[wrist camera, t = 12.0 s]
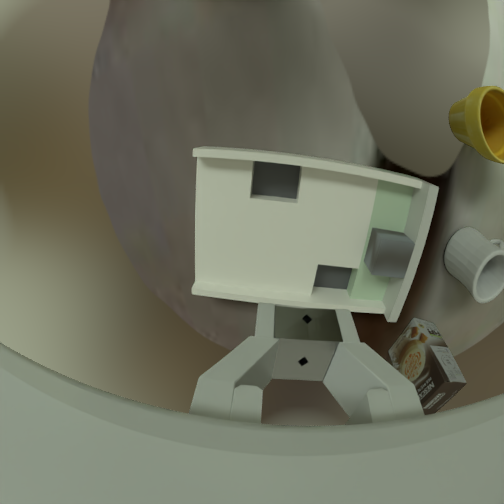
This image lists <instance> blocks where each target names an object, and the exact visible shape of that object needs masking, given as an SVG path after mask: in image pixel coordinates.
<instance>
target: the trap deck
mask: <svg viewBox="0 0 504 504" xmlns="http://www.w3.org/2000/svg"><path fill="white" fill-rule="evenodd" d="M193 157H197V175H196V206H195V283H194V285H193V287H192V294H195V295H202V296H209V297H216V298H223V299H231V300H238V301H246V302H255V303H259V302H263V303H272V304H274V305H275V304H281V305H290V306H300V307H308V308H321V309H348V310H349V311H350V312H363V313H380V314H384V315H385V317H386V320H387V322H396V321H397V319H398V317H399V314H400V312H401V309H402V307H403V305H404V302H405V300H406V297H407V294H408V292H409V289H410V287H411V284H412V281H413V278H414V275H415V273H416V270H417V267H418V264H419V261H420V258H421V255H422V251H423V248H424V245H425V241H426V238H427V234H428V231H429V227H430V223H431V220H432V216H433V212H434V207H435V203H436V199H437V194H438V189H439V187H437V186H435V185H433V184H430V183H428V182H426V181H423V180H421V179H418V178H416V177H413V176H409V175H405V174H401V173H397V172H392V171H388V170H384V169H379V168H375V167H370V166H365V165H360V164H355V163H349V162H344V161H338V160H332V159H326V158H320V157H313V156H306V155H299V154H291V153H283V152H274V151H265V150H254V149H242V148H228V147H210V146H203V147H198V148H193ZM372 227H373V228H379V229H385V230H391V231H397V232H402V233H404V234H405V235H406V236H408V237H409V238H410V239H411V240H412V241H413V242H414V243H415V247H414V250H413V253H412V256H411V259H410V262H409V265H408V268H407V271H406V274H405V277H404V278H396V277H387V276H378V275H371V273H370V271H369V269H368V268H367V266H366V264H365V262H364V258H365V254H366V250H367V247H368V243H369V239H370V235H371V231H372Z"/></svg>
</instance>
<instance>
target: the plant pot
mask: <svg viewBox="0 0 504 504" xmlns="http://www.w3.org/2000/svg"><path fill="white" fill-rule="evenodd" d="M449 124H450V128H451V130H452V132H453V134H454V135H455V137H456V138H457V139H458V140H459V141H461V142H463V143H465V144H467V145H469V146H471V147H473V148H475V149H476V150H477V151H478V153H479V154H480V155H482V156H483V157H484V158H486V159H488V160H491V161H494V162H498V163H502V164H504V90H503V89H501V88H499V87H497V86H485V87H479V88H476V89H474V90H473V91H471V92H470V94H469V95H468V97H466V98H464V99H462V100H460V101H458V102H456V103H454V104H453V105H452V107H451V109H450V111H449Z"/></svg>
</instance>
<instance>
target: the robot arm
mask: <svg viewBox="0 0 504 504" xmlns="http://www.w3.org/2000/svg"><path fill="white" fill-rule="evenodd" d="M271 379H296V380H297V379H298V380H311V381H323V383H324V384H325V386H326V387H327V388H328V390H329V391H330V392H331V394H332V395H333V396H334V398H335V399H336V400H337V402H338V403H339V404H340V405H341V407H342V408H343V409H344V411H345V412H346V413H347V415H348V416H349V417H350V418H349V420H348V421H347V422H346V424H345V425H338V426H289V425H270V424H261V409H262V392H263V391H262V390H263V389H264V388H265V387H266V386H267V384H268V383H269V382H270V381H271ZM0 504H504V393H503V394H501V395H498V396H495V397H493V398H489V399H486V400H483V401H480V402H477V403H474V404H470V405H467V406H463V407H459V408H455V409H452V410H447V411H443V412H439V413H434V414H429V415H424V412H423V409H422V406H421V403H420V400H419V397H418V394H417V391H416V388H415V386H414V384H413V383H412V382H410V381H409V380H408V379H407V378H406V377H404V376H403V375H402V374H401V373H400V372H398V371H397V370H396V369H395V368H394V367H392V366H391V365H390V364H389V363H388V362H387V361H385V360H384V359H383V358H382V357H381V356H379V355H378V354H377V353H376V352H375V351H373V350H372V349H371V348H370V347H369V346H367V345H366V344H365V343H360V340H359V337H358V334H357V331H356V328H355V325H354V321H353V318H352V315H351V312H350V311H349V310H348V309H321V308H308V307H300V306H290V305H281V304H275V305H274V304H272V303H263V302H259V303H258V310H257V319H256V328H255V336H249V337H248V338H247V339H246V340H245V341H243V342H242V343H241V344H240V345H239V346H237V347H236V348H235V349H234V350H233V351H231V352H230V353H229V354H228V355H226V356H225V357H224V358H223V359H221V360H220V361H219V362H218V363H217V364H215V365H214V366H213V367H211V368H210V369H209V370H208V371H206V372H205V373H204V374H203V375H201V376H200V377H199V379H198V383H197V386H196V390H195V394H194V397H193V401H192V404H191V408H190V411H189V414H188V413H182V412H177V411H173V410H169V409H165V408H160V407H156V406H152V405H149V404H145V403H141V402H137V401H134V400H131V399H128V398H124V397H121V396H117V395H115V394H112V393H109V392H106V391H103V390H100V389H97V388H94V387H92V386H89V385H87V384H84V383H81V382H79V381H76V380H74V379H72V378H69V377H67V376H65V375H62V374H60V373H58V372H55V371H53V370H51V369H49V368H47V367H45V366H43V365H41V364H39V363H37V362H35V361H33V360H31V359H29V358H27V357H25V356H23V355H21V354H19V353H18V352H16V351H14V350H12V349H10V348H9V347H7V346H5V345H4V344H2V343H0Z"/></svg>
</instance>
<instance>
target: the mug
mask: <svg viewBox="0 0 504 504" xmlns="http://www.w3.org/2000/svg"><path fill="white" fill-rule="evenodd" d="M494 244H499V247H497V246H495V245H494ZM444 263H445V266H446V268H447V270H448V272H449V273H450V274H451V275H453V276H454V277H455V278H457V279H458V280H459V281H460V282H461V283H462V284H463V285H464V286H465V287H466V288H467V289H468V290H469V292H470V293H471V295H472V296H473V298H474V299H475V300H476V301H477V302H479V303H487V302H489V301H491V300H493V299H494V298H495V297H497V296H498V295H499V293H500V292H501V291H502V290H503V288H504V242H503V241H502V240H499V239H493V240H490V241H489V240H487V239H486V238H485V237H484V236H483V235H482V234H481V233H480V232H479V231H478V230H476V229H474V228H472V227H465V228H462V229H460V230H459V231H457V232H456V233H455V234H454V235H453V236H452V237H451V239H450V240H449V242H448V244H447V247H446V250H445V255H444Z"/></svg>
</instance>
